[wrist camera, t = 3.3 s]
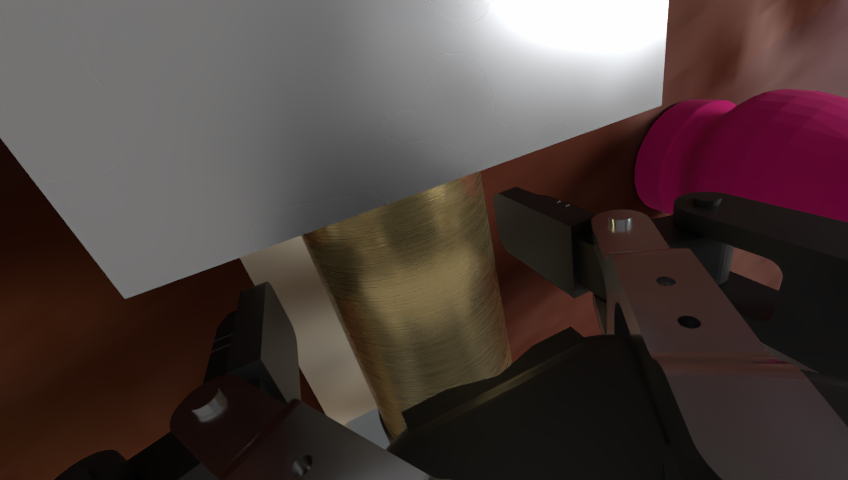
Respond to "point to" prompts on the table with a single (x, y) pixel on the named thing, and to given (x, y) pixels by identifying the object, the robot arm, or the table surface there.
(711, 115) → the pepper mill
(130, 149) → the matte grey cuboid
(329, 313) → the board
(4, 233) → the table surface
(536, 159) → the table surface
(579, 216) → the robot arm
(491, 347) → the tube
